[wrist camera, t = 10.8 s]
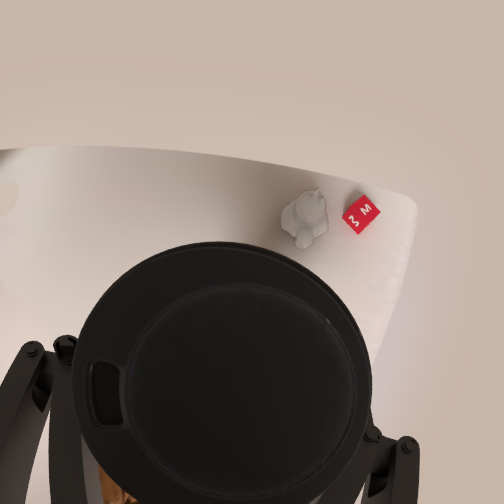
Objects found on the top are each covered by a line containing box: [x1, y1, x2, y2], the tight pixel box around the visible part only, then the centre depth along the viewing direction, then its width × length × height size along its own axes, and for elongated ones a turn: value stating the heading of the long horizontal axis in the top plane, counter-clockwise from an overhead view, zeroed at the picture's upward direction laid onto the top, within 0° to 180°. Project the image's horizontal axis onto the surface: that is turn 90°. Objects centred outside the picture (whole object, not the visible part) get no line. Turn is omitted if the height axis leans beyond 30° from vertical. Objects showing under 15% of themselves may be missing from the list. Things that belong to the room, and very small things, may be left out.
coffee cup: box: [71, 241, 372, 504], centre depth 13 cm, size 9×9×15 cm
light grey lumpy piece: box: [281, 188, 328, 250], centre depth 30 cm, size 5×7×8 cm
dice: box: [342, 195, 380, 234], centre depth 33 cm, size 3×3×3 cm
